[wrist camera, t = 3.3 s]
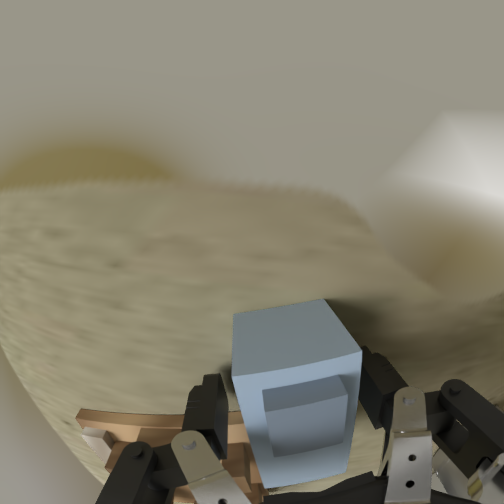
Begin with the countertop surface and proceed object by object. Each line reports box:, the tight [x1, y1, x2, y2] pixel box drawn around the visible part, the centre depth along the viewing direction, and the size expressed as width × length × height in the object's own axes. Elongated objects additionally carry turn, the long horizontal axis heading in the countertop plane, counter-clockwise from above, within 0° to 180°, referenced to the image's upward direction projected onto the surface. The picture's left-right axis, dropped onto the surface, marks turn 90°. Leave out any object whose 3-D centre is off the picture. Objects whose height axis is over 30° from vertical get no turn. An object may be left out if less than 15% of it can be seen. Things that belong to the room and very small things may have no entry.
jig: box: [75, 409, 269, 504], centre depth 12 cm, size 11×12×4 cm
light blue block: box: [232, 299, 362, 489], centre depth 10 cm, size 4×8×6 cm, turn 9°
